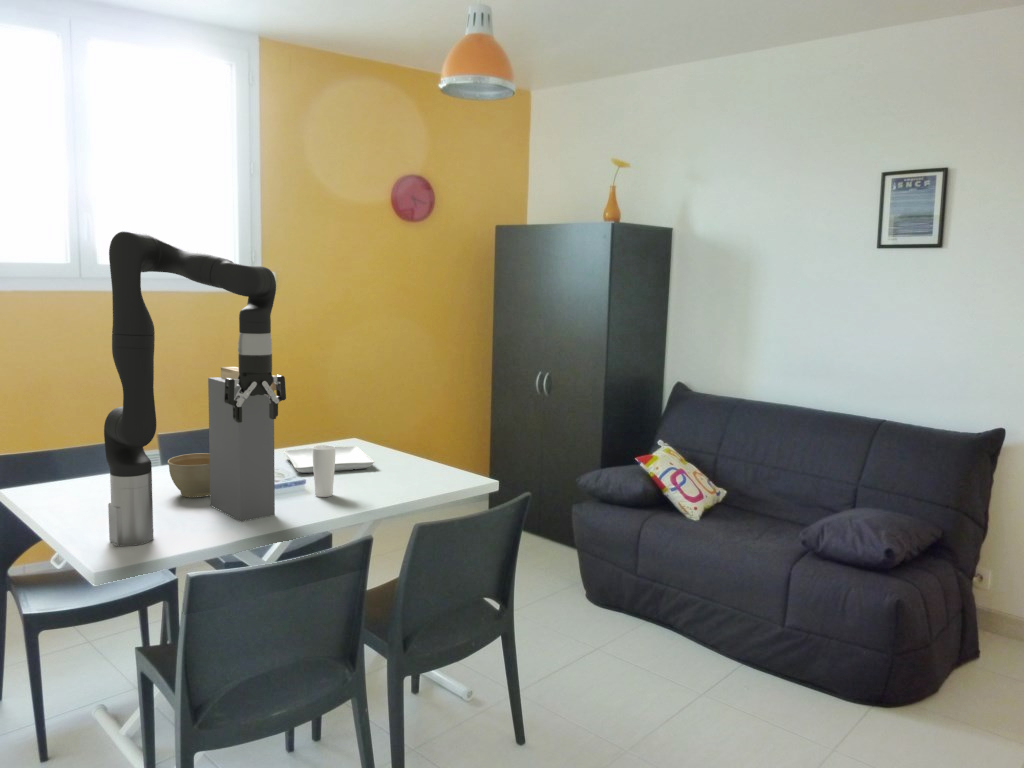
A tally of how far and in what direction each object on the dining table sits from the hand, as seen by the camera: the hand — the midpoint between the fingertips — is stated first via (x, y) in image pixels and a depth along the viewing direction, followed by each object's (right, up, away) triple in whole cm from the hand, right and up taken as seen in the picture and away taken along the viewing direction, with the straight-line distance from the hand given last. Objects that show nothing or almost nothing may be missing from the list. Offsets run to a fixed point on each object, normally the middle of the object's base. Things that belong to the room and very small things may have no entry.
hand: (256, 420), depth 187 cm
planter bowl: (-34, -25, +52) cm, 67 cm away
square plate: (-5, -21, +95) cm, 97 cm away
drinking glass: (+3, -26, +55) cm, 60 cm away
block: (-10, +9, +27) cm, 30 cm away
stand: (-16, -27, +37) cm, 48 cm away
